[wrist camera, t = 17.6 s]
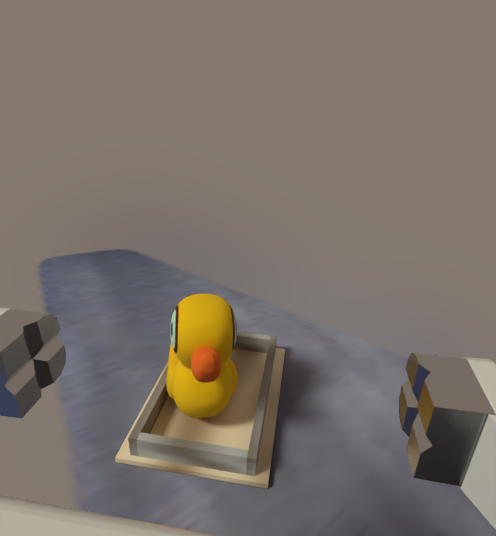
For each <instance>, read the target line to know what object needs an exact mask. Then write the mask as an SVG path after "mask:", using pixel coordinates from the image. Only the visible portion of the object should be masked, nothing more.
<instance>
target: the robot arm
mask: <svg viewBox="0 0 496 536" xmlns="http://www.w3.org/2000/svg"><path fill="white" fill-rule="evenodd" d="M59 331H60V326H59V323H58V319H57V317H55V316H54V315H52V314H49V313H41V312H33V311H25V310H18V309H9V308H0V416H6V417H15V418H23V417H24V415H25V414H26V413H27V412H28V411H29V410H30V409H31V408H32V407H33V405H34V404H35V403H36V402H37V401H38V400H39V399H40V398H41V389H42V388H44V387H46V386H48V385H50V384H52V383H54V382H55V381H56V379H57V378H58V377H59V376H60V375H61V373H62V370H63V368H64V365H65V362H66V351H65V347H64V344H63V343H62V342H61V341H60V340H59V339H58V337H57V334H58V333H59ZM406 370H407V374H408V377H409V380H408V381H406V382H405V383H404V384H402V387H401V392H400V398H399V415H400V422H401V427H402V430H403V431H404V432H405V433H406V434H407V435H408V436H409V440H408V444H407V448H406V449H407V453H408V457H409V461H410V465H411V469H412V473H413V477H414V478H418V479H423V480H429V481H434V482H440V483H446V484H451V485H457V486H461V490H462V491H463V492H464V493H465V494H466V495H467V497H468V498H469V499H470V500H471V501H472V502H473V504H474V505H475V506H476V507H477V508H478V510H479V511H480V512H481V513H482V514H483V515H484V517H485V518H486V519H487V520H488V521H489V523H490V524H491V525H492V526H493V527H494V528H495V530H496V365H495V363H494V362H492V361H491V360H489V359H478V358H466V357H463V358H458V357H448V356H438V355H428V354H417V353H411V355H410V356H409V358H408V362H407V366H406ZM0 536H217V535H212V534H206V533H201V532H195V531H190V530H184V529H179V528H174V527H168V526H163V525H158V524H152V523H147V522H141V521H136V520H131V519H125V518H120V517H115V516H109V515H104V514H98V513H93V512H88V511H82V510H77V509H72V508H66V507H60V506H55V505H49V504H45V503H39V502H34V501H28V500H23V499H17V498H12V497H7V496H2V495H0Z"/></svg>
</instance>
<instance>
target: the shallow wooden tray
mask: <svg viewBox="0 0 496 536" xmlns="http://www.w3.org/2000/svg"><path fill="white" fill-rule="evenodd" d="M276 340H277V337H275V336H267V335H259V334H251V333H243V332H237V334H236V342H235V346H234V349H233V351H232V353H231V355H230V356H229V358H230V360H231V361H232V362H233V363H234V365H235V367H236V371H237V378H238V383H237V389H236V392H235V393H234V394H233V395H231V398H230V400H229V403H228V405H227V406H226V408H225V409H224V410H223V411H222V412H221V413H219V414H217V415H215V416H212V417H206V418H193V417H189V416H187V415H185V414H184V413H182V412H181V411H180V410H179V408H178V407H177V405H176V403H175V401H174V399H172V398H171V397H170V396H169V394H168V391H167V384H166V378H167V371H168V362H169V361H168V362H167V364H166V366H165V368H164V370H163V372H162V373H161V375H160V377H159V379H158V381H157V382H156V384H155V386H154V388H153V390H152V392H151V393H150V395H149V397H148V399H147V401H146V403H145V404H144V406H143V408H142V410H141V412H140V413H139V415H138V417H137V419H136V421H135V423H134V424H133V426H132V428H131V430H130V432H129V433H128V435H127V437H126V439H125V441H124V443H123V444H122V446H121V448H120V450H119V452H118V454H117V455H116V457H115V460H116V462H119V463H125V464H130V465H136V466H142V467H147V468H153V469H159V470H164V471H170V472H176V473H182V474H187V475H193V476H199V477H204V478H210V479H216V480H221V481H227V482H233V483H238V484H244V485H250V486H256V487H261V488H267V489H268V483H269V475H270V467H271V459H272V451H273V443H274V436H275V428H276V420H277V412H278V404H279V396H280V388H281V380H282V372H283V364H284V356H285V349H280V348H276Z"/></svg>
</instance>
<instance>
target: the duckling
mask: <svg viewBox="0 0 496 536" xmlns="http://www.w3.org/2000/svg"><path fill="white" fill-rule="evenodd" d="M170 333H171V346H170V352H169V362H168V371H167V378H166V384H167V391H168V394H169V396H170V397H171V398H172V399H174V401H175V403H176V405H177V407H178V408H179V410H180V411H181V412H182V413H184V414H185V415H187V416H189V417H193V418H206V417H212V416H215V415H217V414H219V413H221V412H222V411H223V410H224V409H225V408H226V406H227V405H228V403H229V400H230V398H231V395H233V394H234V393H235V392H236V389H237V383H238V378H237V371H236V367H235V365H234V363H233V362H232V361H231V360H230V358H229V356H230V355H231V353H232V351H233V349H234V346H235V342H236V334H237V327H236V319H235V315H234V312H233V310H232V308H231V306H230V305H229V303H228V302H227V301H226V300H225V299H223V298H222V297H220V296H217V295H214V294H195V295H191V296H188V297H186V298H184V299H183V300H182V301H181V302H180V303H179V304H178V305H177V307H176V308H175V310H174V313H173V316H172V320H171V329H170Z"/></svg>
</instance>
